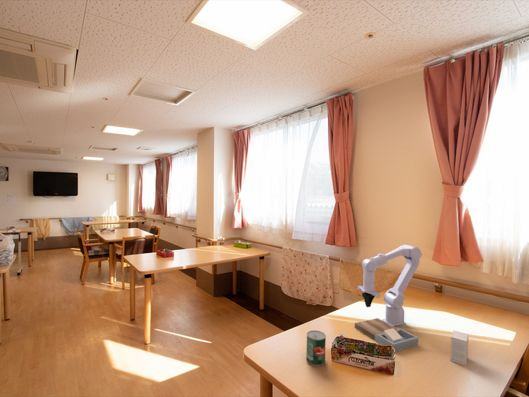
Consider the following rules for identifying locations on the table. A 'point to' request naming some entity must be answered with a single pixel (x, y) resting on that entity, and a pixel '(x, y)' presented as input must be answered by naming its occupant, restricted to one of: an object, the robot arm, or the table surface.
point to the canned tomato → (316, 348)
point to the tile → (392, 335)
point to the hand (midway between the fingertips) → (368, 306)
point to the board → (373, 327)
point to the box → (406, 342)
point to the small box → (459, 347)
